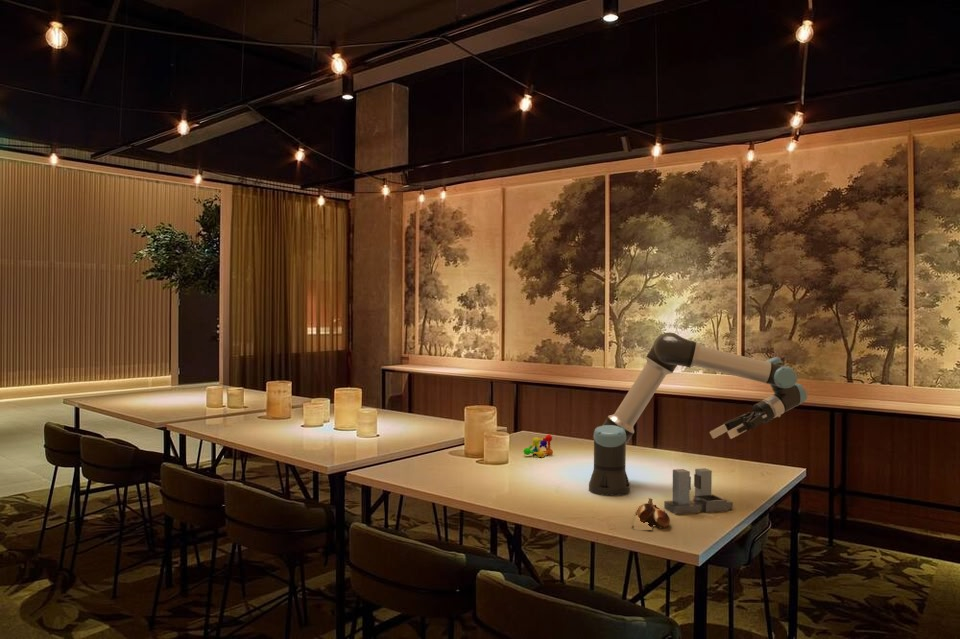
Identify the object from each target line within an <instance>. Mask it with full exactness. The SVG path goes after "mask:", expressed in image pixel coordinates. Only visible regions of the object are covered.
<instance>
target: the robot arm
mask: <svg viewBox="0 0 960 639" xmlns="http://www.w3.org/2000/svg"><path fill="white" fill-rule="evenodd" d="M645 360H646V363H645V365H644V367H643V368H642V369H641V371H640V373H639V374H638V376H637V377H636V379H635V381H634V382H633V384H632V385H631V387H630V388H629V390H628V392H627V393H626V395H625V396H624V398H623V400H622V401H621V403H620V405H619V406H618V407H617V409H616V411H615V412H614V414H611V415H608V416H607V417H606V419H605V421H604V422H603V424H602V425H600V426H597V427H595V429H594V430H593V471H592V474H591V475H590V476H591V477H590V480H589V483H588V491H590V492H591V493H593V492H594V493H593V494H596V493H597V494H596V495H601V494H603V495H602V496H624V495H628V494H630V493H631V484H630V481H629V478H628V474H627V471H626V462H627V460H626V457H627V456H626V454H627V453H626V452H627V451H626V450H627V447H626V446H627V444H628V443H629V441H630V440H631V438H632V436H633V435H634V433H635V429H634V426H635V425H636V423H637V421H638V420H639V418H640V417H641V415H642V414H643V412H644V410H645V409H646V407H647V406H648V404H649V403H650V401H651V400H652V398H653V397H654V394H655V393H656V391H657V390H658V389H659V387H660V385H661V384H662V382H663V381H664V379H665V378H666V376H667V375H670V374H673V373H674V371H675V369H676V368H677V367H678V366H681V367H686V368H690V369H691V368H693V367H697V368H698V367H699V368H701V369H706V370H708V371H709V370H710V371H714V372H717V373H723V374H726V375H731V376H735V377H739V378H743V379H747V380H751V381H756V382H759V383H764V384H767V385H769V386H770V387H771V389H772V391H773V393H774V394H771V395H769V396H768V397H766V398H764V399H762V400H761V401H759V402H756V403H754V404H753V406H752V412H751V411H750V412H745V413H743V414H742V415H739V416H737V417H735V418H732V419H729V420H727V421H725V422H722V425H720V426H718V427H716V428H714V429H712V430H710V431H709V434H710V436H711V438H712V440H713V439H715V438H719V436H722V435H723V434H725V433H727V435H728V438H729V439H730V440H732V439H733V438H734V439H735V437H738V436H740V435H742V434H743V433H745V432H747V431H750V430H754V429H755V428H756V427H758V426H759V425H760V424H762V423H763V424H767V423H768V422H771V421H772V420H774V419H775V418H780V417H781V415H783V414H784V413H786V412H788V411H790V410H793V409H794V408H795V407H799V406H800V405H801V404H803V403H804V402H806V401H807V399H808V392H807V390H806V389H805V387H803V385H802V384H801V383H797V381H798V375H797V373H796V371H795V370H794V369H793V368H792V367H790V366H786V365H784V362H783V361H782V360H781V358H780V357H779V356H774V357H772V358H769V359H767V360H760V359H756V358H752V357H747V356H744V355H740V354H735V353H731V352H727V351H722V350H719V349H716V348H715V349H714V348H710V347H705V346H702V345H700V344H699V343H698V342H696V341H693V340H690V339H686V338H684V337H682V336H680V335H679V334H677V333H675V332H664V333H662V334H660V335H659V336H657V337H656V339H655V340H654V342H653V345H652V347H651V348H650V349H649V352H648V353H647V354H646V356H645Z"/></svg>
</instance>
